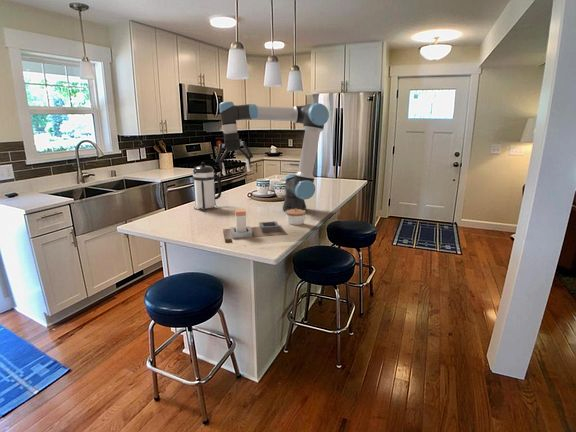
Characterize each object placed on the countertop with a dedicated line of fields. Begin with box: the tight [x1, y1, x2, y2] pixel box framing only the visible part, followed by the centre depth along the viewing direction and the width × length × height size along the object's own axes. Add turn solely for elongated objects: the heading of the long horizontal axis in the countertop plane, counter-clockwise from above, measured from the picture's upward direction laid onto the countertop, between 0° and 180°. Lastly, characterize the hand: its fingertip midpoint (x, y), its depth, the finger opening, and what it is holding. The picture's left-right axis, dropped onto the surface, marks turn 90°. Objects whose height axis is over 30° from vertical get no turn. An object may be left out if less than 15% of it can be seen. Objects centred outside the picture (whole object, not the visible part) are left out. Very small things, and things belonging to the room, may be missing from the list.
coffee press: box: [192, 161, 222, 212], centre depth 214 cm, size 17×16×30 cm
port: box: [229, 225, 253, 240], centre depth 161 cm, size 10×10×2 cm
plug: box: [234, 208, 247, 232], centre depth 160 cm, size 4×4×12 cm
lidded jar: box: [285, 208, 306, 226], centre depth 181 cm, size 11×11×9 cm
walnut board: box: [222, 224, 288, 243], centre depth 166 cm, size 30×16×2 cm, turn 104°
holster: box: [258, 220, 280, 232], centre depth 171 cm, size 9×9×2 cm
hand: (236, 173), depth 181 cm, fingers open, 13 cm apart
